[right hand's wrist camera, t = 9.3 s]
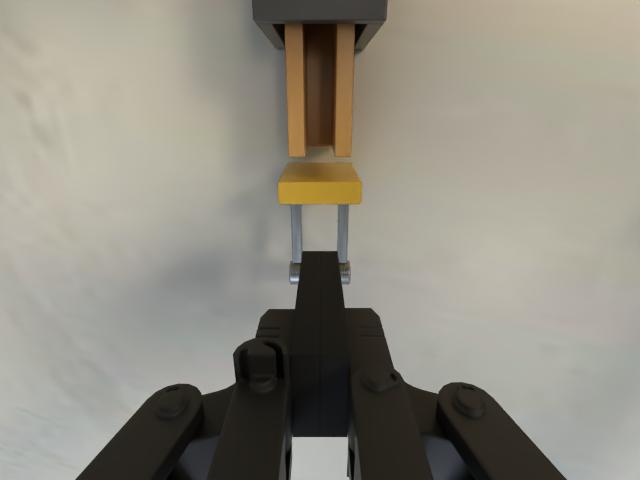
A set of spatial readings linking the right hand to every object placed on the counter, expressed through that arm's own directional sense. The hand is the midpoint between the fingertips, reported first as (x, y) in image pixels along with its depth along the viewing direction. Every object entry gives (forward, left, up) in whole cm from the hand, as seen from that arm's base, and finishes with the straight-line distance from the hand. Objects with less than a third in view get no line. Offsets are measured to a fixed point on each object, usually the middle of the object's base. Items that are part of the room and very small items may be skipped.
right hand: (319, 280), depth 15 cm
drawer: (-4, -5, -10) cm, 12 cm away
